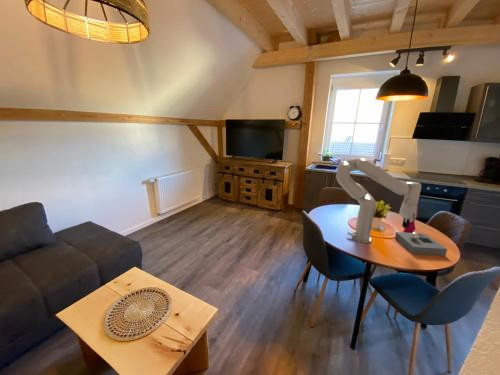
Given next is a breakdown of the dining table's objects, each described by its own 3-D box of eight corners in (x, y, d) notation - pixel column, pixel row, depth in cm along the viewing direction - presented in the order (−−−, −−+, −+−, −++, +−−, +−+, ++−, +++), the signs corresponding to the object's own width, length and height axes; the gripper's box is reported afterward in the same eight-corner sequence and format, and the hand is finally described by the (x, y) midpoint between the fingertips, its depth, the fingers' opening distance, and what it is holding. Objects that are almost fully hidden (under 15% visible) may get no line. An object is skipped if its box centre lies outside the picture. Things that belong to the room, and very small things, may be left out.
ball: (412, 241, 144) (413, 234, 142) (407, 237, 148) (409, 230, 147) (420, 241, 143) (421, 234, 142) (415, 237, 148) (416, 231, 147)
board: (411, 253, 138) (413, 246, 137) (394, 238, 157) (396, 232, 156) (445, 256, 136) (447, 249, 135) (423, 240, 156) (425, 233, 154)
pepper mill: (415, 235, 161) (422, 211, 156) (405, 234, 163) (411, 210, 157) (411, 231, 168) (417, 207, 163) (400, 230, 170) (406, 206, 164)
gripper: (398, 197, 146) (393, 222, 151) (411, 204, 132) (406, 232, 137) (409, 197, 146) (404, 222, 151) (424, 205, 131) (418, 232, 136)
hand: (405, 226), depth 144 cm, fingers closed
